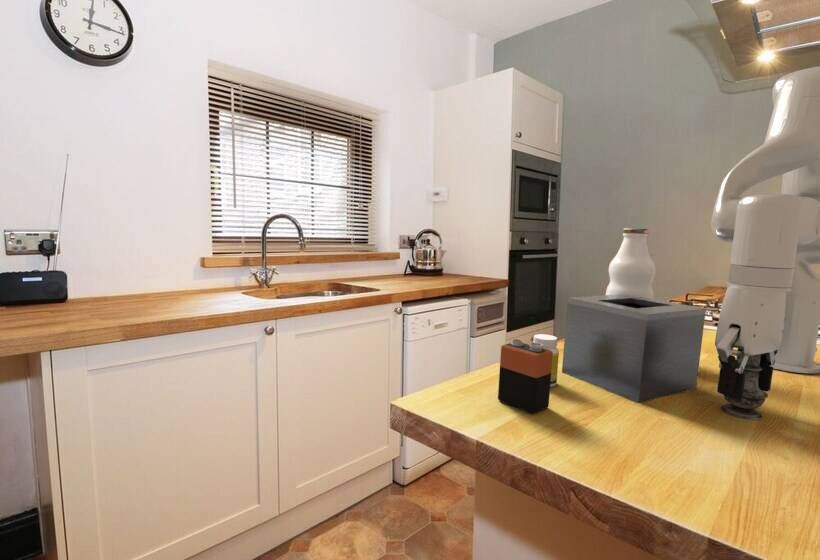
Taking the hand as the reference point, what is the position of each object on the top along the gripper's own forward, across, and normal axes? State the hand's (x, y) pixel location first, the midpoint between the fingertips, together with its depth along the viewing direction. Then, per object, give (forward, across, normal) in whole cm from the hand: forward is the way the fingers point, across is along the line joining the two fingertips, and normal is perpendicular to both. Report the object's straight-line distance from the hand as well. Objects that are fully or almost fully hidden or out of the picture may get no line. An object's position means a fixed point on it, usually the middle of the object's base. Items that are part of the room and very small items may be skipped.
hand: (743, 391), depth 68 cm
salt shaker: (+4, 0, 0) cm, 4 cm away
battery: (+4, +30, -16) cm, 34 cm away
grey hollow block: (+3, +4, -17) cm, 18 cm away
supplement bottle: (+4, +20, -22) cm, 30 cm away
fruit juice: (+4, -10, -28) cm, 30 cm away
